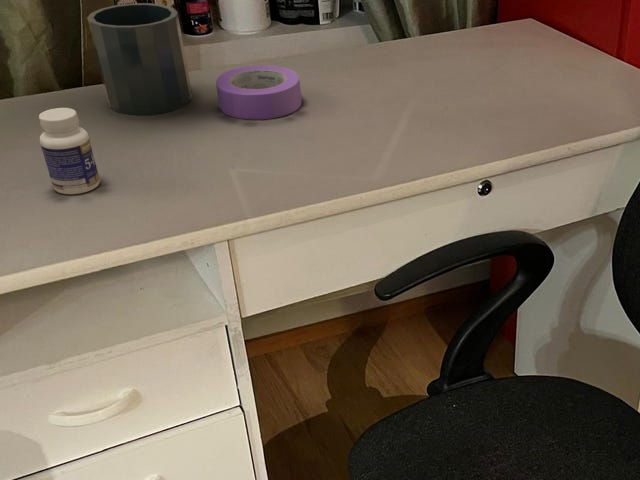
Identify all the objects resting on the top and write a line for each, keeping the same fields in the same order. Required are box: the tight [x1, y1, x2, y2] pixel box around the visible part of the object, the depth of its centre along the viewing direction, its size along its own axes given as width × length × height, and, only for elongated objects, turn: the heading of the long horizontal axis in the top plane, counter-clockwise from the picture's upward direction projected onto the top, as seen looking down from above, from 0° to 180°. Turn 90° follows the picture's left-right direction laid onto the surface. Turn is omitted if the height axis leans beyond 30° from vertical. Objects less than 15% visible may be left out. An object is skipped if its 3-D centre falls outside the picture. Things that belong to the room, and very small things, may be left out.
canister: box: [86, 2, 193, 116], centre depth 122 cm, size 12×12×12 cm
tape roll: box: [215, 64, 303, 121], centre depth 124 cm, size 12×12×4 cm
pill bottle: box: [38, 107, 101, 195], centre depth 101 cm, size 5×5×9 cm
